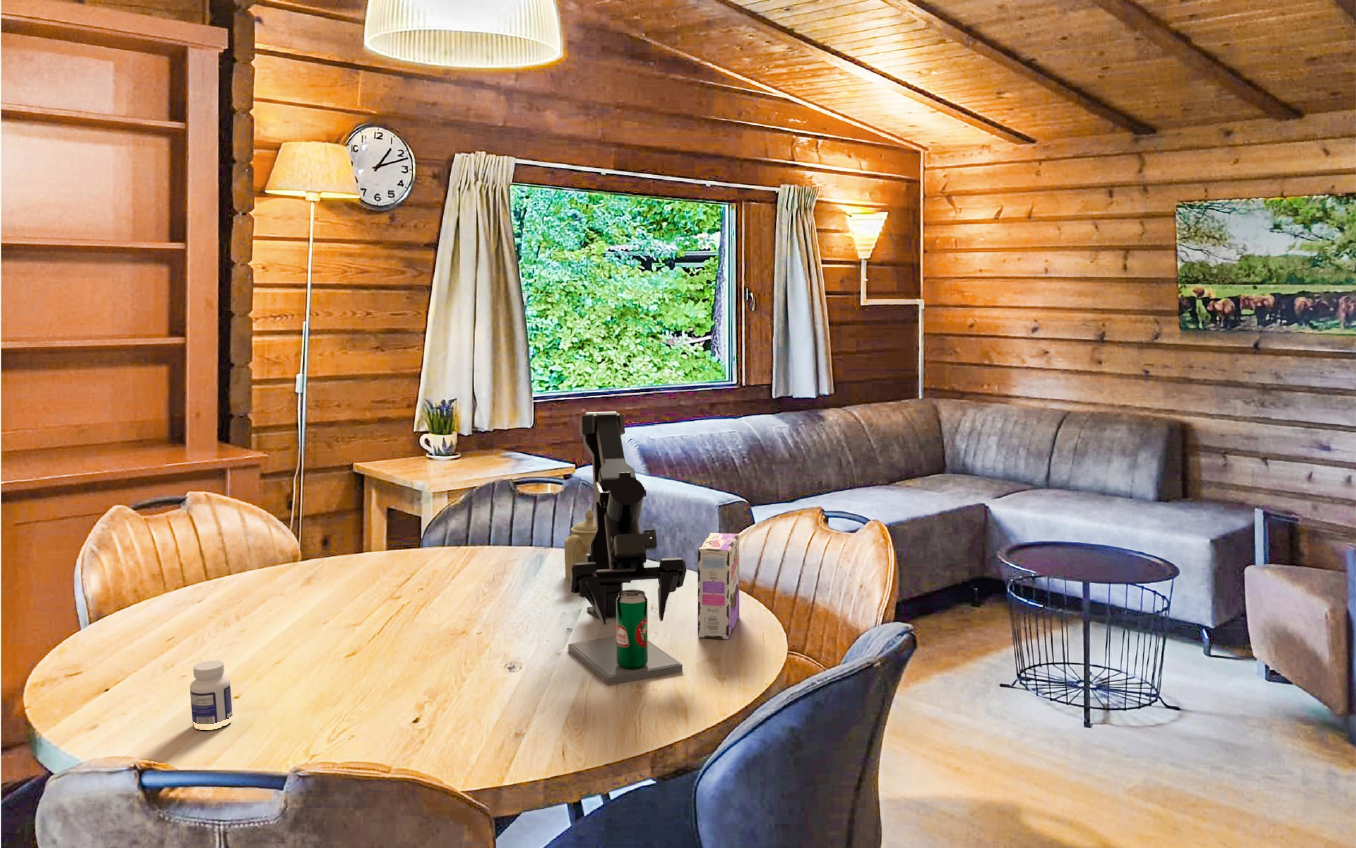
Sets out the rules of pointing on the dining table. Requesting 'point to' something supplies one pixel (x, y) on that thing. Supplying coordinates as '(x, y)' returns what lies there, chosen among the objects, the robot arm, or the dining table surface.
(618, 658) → the soda can
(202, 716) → the pill bottle
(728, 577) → the candy box
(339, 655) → the dining table surface
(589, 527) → the sugar bowl
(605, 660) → the slate board
